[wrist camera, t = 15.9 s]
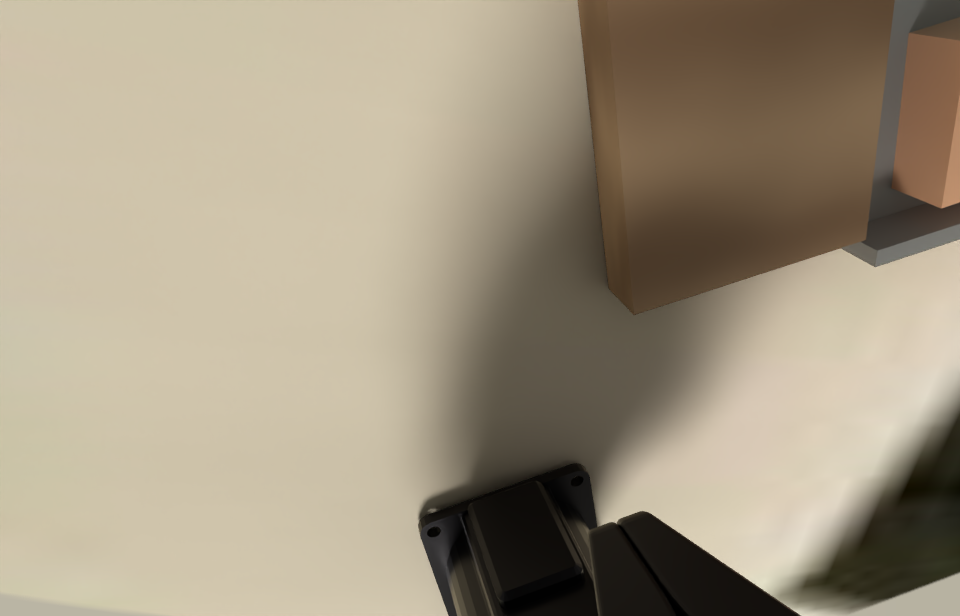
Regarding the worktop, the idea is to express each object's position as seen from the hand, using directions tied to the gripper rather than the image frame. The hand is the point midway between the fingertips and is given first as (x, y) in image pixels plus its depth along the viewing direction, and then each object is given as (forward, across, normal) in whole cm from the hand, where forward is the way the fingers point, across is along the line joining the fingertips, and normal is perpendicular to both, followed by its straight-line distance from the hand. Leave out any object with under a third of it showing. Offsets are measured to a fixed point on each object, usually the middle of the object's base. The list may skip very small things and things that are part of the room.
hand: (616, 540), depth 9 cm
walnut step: (+12, -9, -3) cm, 15 cm away
